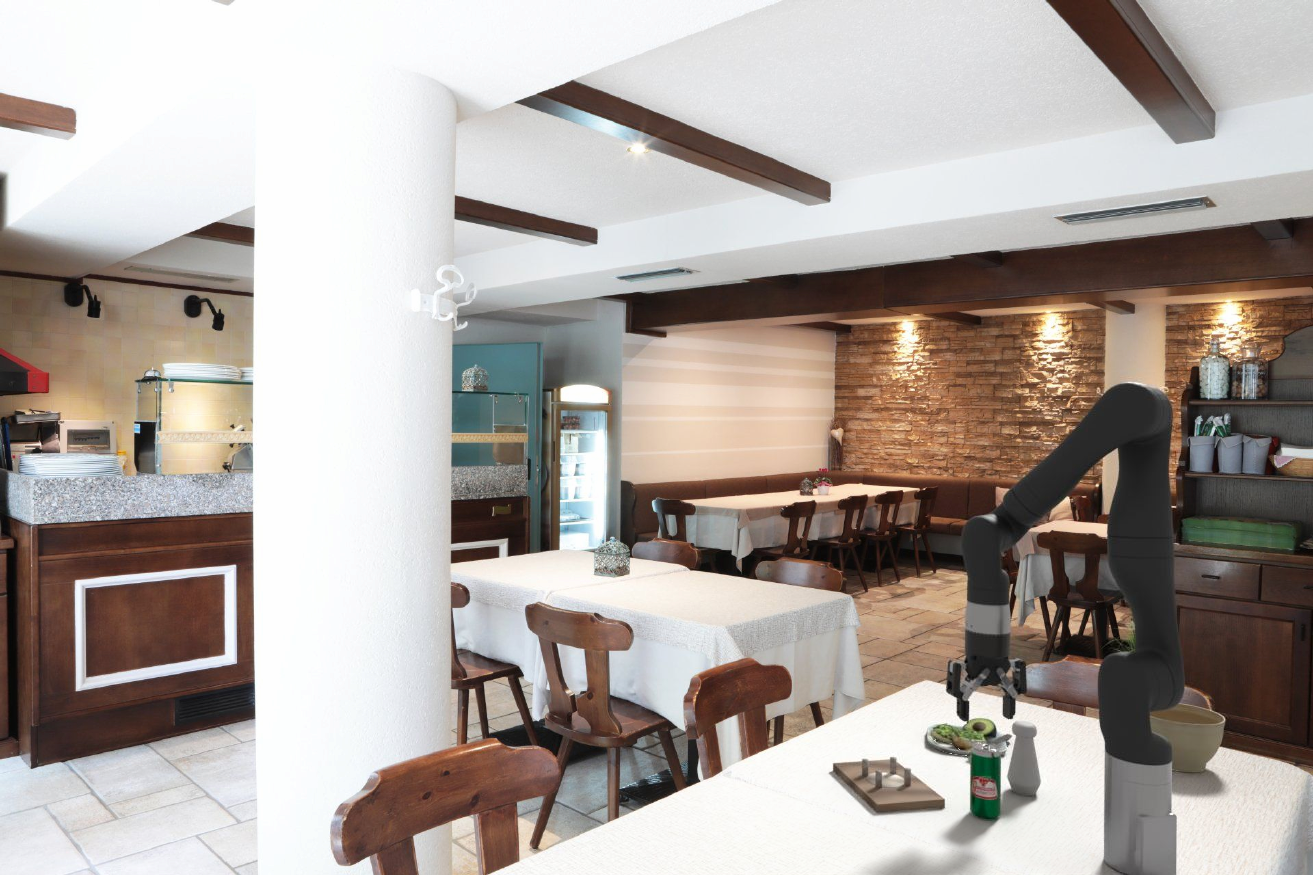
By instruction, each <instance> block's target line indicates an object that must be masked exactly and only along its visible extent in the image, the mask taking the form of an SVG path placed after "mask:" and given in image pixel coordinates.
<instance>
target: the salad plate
mask: <svg viewBox="0 0 1313 875" xmlns="http://www.w3.org/2000/svg"><path fill="white" fill-rule="evenodd" d="M1012 737H1013V734H1010V733H1006V734H1003V733H1001V732H999V731H997V725H996V724H995V723H994V721H993V720H991V719H988V718H983V717H978V718H976V717H975V718H971V719H969V721H966V724H964V725H963V726H962V725H956V724H948V723H947V722H946V723H936V724H933V725H932V724H931V725H930V726H929V727H927V730H926V740H927V743H928V744H929V745H930V746H932V747H933V748H934V749H935V748H936V749H935V750H937V749H938V750H937V751H939V750H940V752H942V751H944V752H943V753H945V752H947V753H946V754H948V753H952V754H951V755H953V754H957V755H956V756H961V755H967V756H966V757H968V756H970V751H971V749H972V748H973V744H975V743H988V744H992V745H995V746H997V747H998V748H999V752H1000V754H1001V755H1004V754H1005V753H1006V752H1007V750H1008V747H1007V742H1008V741H1009V740H1011V739H1012ZM935 739H938V740H937V741H939V740H942V741H944V742H943V743H946V742H949V743H948V744H950V743H952V744H951V745H953V744H954V745H953V746H955V745H956V746H957V748H959V749H960V750H958V749H957V748H955V749H954V748H951V747H947V746H943V745H941V744H939V743H938V742H937V743H938V744H937V743H936V742H935V741H934V740H935ZM942 741H941V742H942ZM956 746H955V747H956Z"/></svg>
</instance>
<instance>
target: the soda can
mask: <svg viewBox="0 0 1313 875" xmlns="http://www.w3.org/2000/svg"><path fill="white" fill-rule="evenodd" d="M969 758H970V761H969V763H970V765H969V766H970V767H969V768H970V769H969V778H970V779H969V791H970V792H969V811H970V812H971V814H972V815H973V816H974V817H976V818H979V819H982V820H987V821H988V820H989V821H992V820H993V821H994V820H996V819H998V818H999V817H1000V816H1001V815H1002V813H1001V810H1002V809H1001V808H1002V807H1001V806H1002V805H1001V803H1002V802H1001V801H1002V800H1001V798H1002V794H1001V791H1002V790H1001V788H1002V787H1001V786H1002V785H1001V784H1002V754H1000V752H999V748H998V747H997V746H995V745H992V744H988V743H975V744H973V748H972V749H971V751H970V757H969Z"/></svg>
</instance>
